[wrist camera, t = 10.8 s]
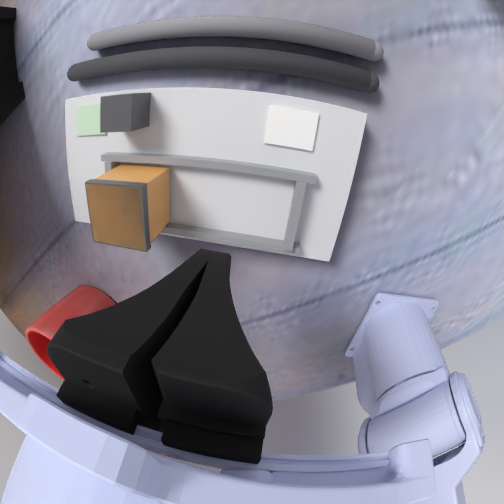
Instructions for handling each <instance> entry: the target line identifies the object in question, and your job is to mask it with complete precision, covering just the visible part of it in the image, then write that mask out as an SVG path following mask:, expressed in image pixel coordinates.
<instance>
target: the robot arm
mask: <svg viewBox="0 0 504 504" xmlns="http://www.w3.org/2000/svg"><path fill="white" fill-rule="evenodd" d="M230 266H231V256H230V255H229V254H227V253H221V252H215V251H209V250H203V249H200V250H199V251H198V252H196V253H195V254H194V255H193V256H191V257H190V258H189V259H188V260H187V261H185V262H184V263H183V264H182V265H180V266H179V267H178V268H176V269H175V270H174V271H172V272H171V273H170V274H168V275H167V276H166V277H164V278H163V279H161V280H160V281H158V282H157V283H156V284H154V285H152V286H151V287H149V288H147V289H146V290H144V291H142V292H140V293H138V294H137V295H135V296H133V297H131V298H128V299H126V300H124V301H122V302H120V303H117V304H115V305H113V306H110V307H108V308H105V309H102V310H99V311H96V312H93V313H90V314H86V315H82V316H79V317H75V318H71V319H66V320H65V321H64V322H63V324H62V325H61V326H60V328H59V329H58V331H57V332H56V333H55V335H54V336H53V338H52V339H51V341H50V342H49V344H48V345H47V352H48V355H49V357H50V359H51V361H52V362H53V364H54V365H55V367H56V368H57V370H58V371H59V372H60V374H61V375H62V377H63V378H64V379H65V380H64V382H63V384H62V386H61V387H60V389H57V388H55V387H54V386H52V385H50V384H48V383H47V382H45V381H43V380H42V379H40V378H38V377H37V376H35V375H34V374H32V373H30V372H29V371H27V370H26V369H24V368H23V367H21V366H20V365H18V364H17V363H16V362H14V361H13V360H11V359H10V358H9V357H7V356H6V355H5V354H3V353H2V352H0V412H1V413H2V414H3V415H4V416H5V417H6V418H8V419H9V420H10V421H11V422H12V423H14V424H15V425H16V426H17V427H18V428H19V429H20V430H21V431H23V432H24V433H25V434H27V435H26V437H25V439H24V442H23V444H22V446H21V449H20V451H19V453H18V456H17V458H16V460H15V463H14V466H13V468H12V471H11V474H10V476H9V479H8V482H7V485H6V488H5V491H4V494H3V497H2V500H1V504H466V503H465V496H464V491H463V485H462V479H463V478H464V476H465V475H466V474H467V473H468V471H469V470H470V469H471V468H472V466H473V465H474V464H475V462H476V461H477V460H478V458H479V457H480V455H481V453H482V451H483V445H484V443H485V436H484V432H483V428H482V421H481V416H480V412H479V408H478V405H477V401H476V399H475V396H474V393H473V391H472V388H471V386H470V384H469V382H468V380H467V378H466V376H465V375H464V374H462V373H458V372H456V371H455V372H453V373H452V374H450V373H449V371H448V368H447V365H446V362H445V360H444V357H443V355H442V352H441V349H440V347H439V344H438V342H437V339H436V337H435V335H434V332H433V330H432V328H431V325H430V323H429V319H430V318H431V316H432V315H433V313H434V312H435V310H436V308H437V307H438V305H439V302H438V301H437V300H434V299H426V298H418V297H410V296H403V295H395V294H387V293H377V294H376V295H375V297H374V299H373V301H372V303H371V305H370V307H369V309H368V311H367V313H366V315H365V316H364V318H363V320H362V322H361V324H360V326H359V328H358V330H357V331H356V333H355V335H354V337H353V339H352V340H351V342H350V344H349V346H348V347H347V349H346V351H345V356H346V357H352V358H353V365H354V372H355V379H356V385H357V393H358V399H359V402H360V404H361V406H362V407H363V409H364V410H365V411H366V412H367V413H368V414H370V417H368V418H367V419H366V420H365V421H364V422H363V423H362V425H361V428H360V432H359V435H358V451H359V454H357V455H339V456H301V455H282V454H270V453H262V444H263V439H264V437H265V430H266V425H267V423H268V421H269V419H270V417H271V414H272V410H273V406H272V396H271V391H270V387H269V383H268V379H267V375H266V372H265V371H264V369H263V368H262V366H261V365H260V363H259V361H258V360H257V358H256V356H255V355H254V353H253V351H252V349H251V347H250V345H249V343H248V341H247V339H246V337H245V335H244V332H243V330H242V328H241V325H240V323H239V320H238V317H237V314H236V311H235V307H234V304H233V299H232V295H231V289H230V282H229V277H230ZM377 301H379V302H377ZM464 442H465V443H464ZM462 443H464V444H462ZM460 444H462V445H461V446H459V447H458V448H455V449H453V450H452V451H449V452H447V453H445V454H443V455H441V456H438V457H436V458H434V459H432V458H433V457H435V456H437V455H439V454H442V453H443V452H446V451H448V450H450V449H452V448H454V447H456V446H458V445H460ZM146 449H147V450H150V451H153V452H156V453H159V454H163V455H166V456H169V457H173V458H176V459H180V460H184V461H188V462H192V463H196V464H201V465H205V466H210V467H215V468H221V469H223V470H222V471H221V473H217V472H212V471H208V470H205V469H201V468H197V467H194V466H190V465H187V464H184V463H180V462H177V461H174V460H171V459H168V458H165V457H163V456H159V455H157V454H154V453H151V452H149V451H147V450H146Z"/></svg>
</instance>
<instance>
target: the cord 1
mask: <svg viewBox="0 0 504 504" xmlns="http://www.w3.org/2000/svg"><path fill="white" fill-rule="evenodd" d="M182 37H246V38H259V39H269V40H278V41H285V42H292V43H298V44H304V45H310V46H315V47H320V48H325V49H329V50H333V51H337V52H341V53H345V54H349V55H353V56H356V57H360V58H363V59H366V60H370V61H378V60H380V59H381V58H382V57H383V53H384V51H383V48H382V46H381V45H380V44H379V43H378V42H376V41H374V40H371V39H368V38H365V37H362V36H358V35H355V34H351V33H347V32H344V31H340V30H336V29H331V28H327V27H322V26H318V25H312V24H307V23H301V22H295V21H288V20H280V19H271V18H260V17H243V16H201V17H185V18H174V19H165V20H157V21H150V22H144V23H138V24H133V25H128V26H123V27H119V28H114V29H110V30H106V31H102V32H99V33H95V34H93V35H92V36H91V37H90V38H89V39H88V41H87V46H88V48H89V49H90V50H93V51H96V50H100V49H105V48H109V47H114V46H119V45H124V44H130V43H136V42H143V41H150V40H158V39H169V38H182Z"/></svg>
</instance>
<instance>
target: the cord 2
mask: <svg viewBox="0 0 504 504" xmlns="http://www.w3.org/2000/svg"><path fill="white" fill-rule="evenodd" d="M167 68H228V69H243V70H255V71H264V72H272V73H280V74H287V75H293V76H299V77H304V78H310V79H315V80H320V81H324V82H329V83H333V84H337V85H341V86H345V87H349V88H353V89H356V90H360V91H363V92H368V93H371V92H374V91H376V90H377V89H378V87H379V79H378V77H377V76H376V74H375V73H373V72H371V71H369V70H365V69H362V68H359V67H355V66H351V65H348V64H344V63H340V62H336V61H332V60H327V59H323V58H318V57H313V56H308V55H302V54H297V53H290V52H283V51H276V50H267V49H257V48H245V47H223V46H195V47H174V48H161V49H151V50H143V51H135V52H129V53H123V54H117V55H112V56H107V57H102V58H97V59H93V60H89V61H85V62H81V63H77V64H74V65H72V66H71V67H70V68H69V70H68V72H67V76H68V79H69V80H71V81H79V80H83V79H88V78H93V77H98V76H104V75H110V74H116V73H124V72H132V71H141V70H152V69H167Z"/></svg>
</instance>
